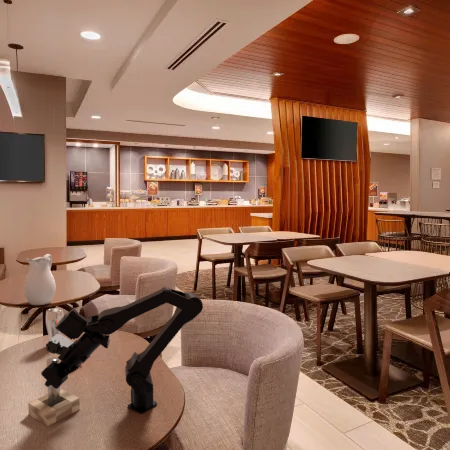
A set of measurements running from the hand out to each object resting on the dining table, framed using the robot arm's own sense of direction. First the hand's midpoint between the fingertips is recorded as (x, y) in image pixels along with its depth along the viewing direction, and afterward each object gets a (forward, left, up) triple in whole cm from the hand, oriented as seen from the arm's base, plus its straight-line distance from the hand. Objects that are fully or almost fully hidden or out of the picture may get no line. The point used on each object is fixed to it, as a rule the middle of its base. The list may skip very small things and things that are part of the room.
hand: (49, 382), depth 110 cm
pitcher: (+113, -63, -9) cm, 130 cm away
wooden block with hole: (-1, -1, -9) cm, 9 cm away
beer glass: (+46, -30, -9) cm, 55 cm away
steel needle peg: (-1, -1, -7) cm, 7 cm away
